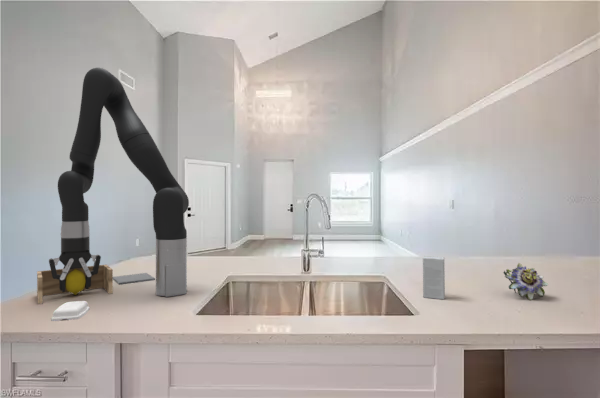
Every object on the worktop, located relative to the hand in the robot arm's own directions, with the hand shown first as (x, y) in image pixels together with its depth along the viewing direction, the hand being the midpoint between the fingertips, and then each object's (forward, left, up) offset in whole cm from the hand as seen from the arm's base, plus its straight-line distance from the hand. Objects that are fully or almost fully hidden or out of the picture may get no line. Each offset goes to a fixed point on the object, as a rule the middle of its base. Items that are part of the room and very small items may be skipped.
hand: (75, 289), depth 112 cm
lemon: (0, 0, -2) cm, 2 cm away
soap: (-21, +3, -2) cm, 22 cm away
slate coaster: (+12, -19, -1) cm, 23 cm away
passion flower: (-85, -109, -2) cm, 138 cm away
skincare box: (-69, -86, -2) cm, 110 cm away
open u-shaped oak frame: (0, 0, -1) cm, 2 cm away
